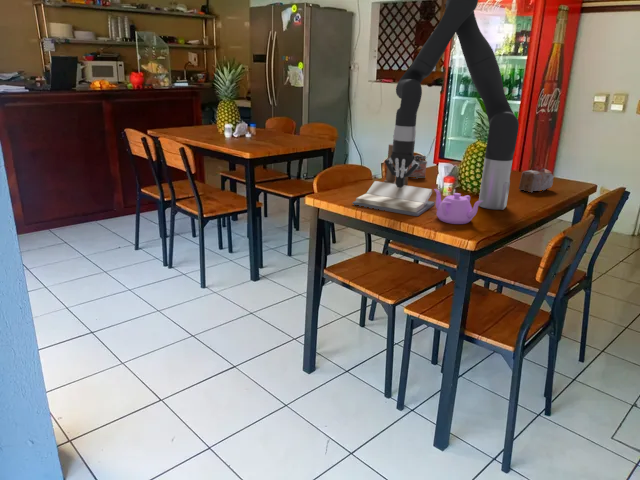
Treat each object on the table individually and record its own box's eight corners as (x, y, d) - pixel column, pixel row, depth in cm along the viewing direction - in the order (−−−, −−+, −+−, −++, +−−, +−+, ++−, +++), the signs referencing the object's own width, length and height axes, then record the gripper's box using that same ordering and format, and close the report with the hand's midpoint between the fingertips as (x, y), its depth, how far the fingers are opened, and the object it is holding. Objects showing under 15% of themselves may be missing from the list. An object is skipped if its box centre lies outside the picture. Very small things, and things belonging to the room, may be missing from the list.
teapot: (431, 213, 168) (434, 188, 165) (473, 216, 167) (476, 190, 164) (435, 224, 157) (438, 196, 154) (480, 226, 156) (484, 199, 153)
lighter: (407, 177, 222) (409, 155, 218) (407, 176, 225) (409, 154, 222) (425, 179, 221) (427, 156, 217) (425, 177, 224) (427, 155, 220)
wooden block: (399, 195, 191) (403, 148, 185) (383, 189, 200) (386, 143, 194) (407, 194, 193) (411, 147, 187) (390, 188, 201) (394, 143, 195)
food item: (535, 186, 213) (539, 163, 210) (553, 190, 207) (557, 167, 204) (516, 190, 206) (520, 166, 202) (533, 194, 199) (538, 170, 196)
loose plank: (432, 192, 177) (432, 189, 176) (424, 206, 172) (424, 202, 171) (375, 184, 187) (374, 180, 186) (366, 196, 182) (366, 193, 182)
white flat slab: (423, 207, 172) (424, 202, 171) (416, 212, 165) (416, 208, 165) (365, 197, 182) (365, 193, 181) (356, 202, 175) (356, 198, 175)
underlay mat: (434, 204, 179) (434, 201, 179) (417, 216, 164) (418, 213, 164) (373, 194, 190) (373, 192, 190) (352, 205, 175) (352, 202, 175)
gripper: (425, 139, 174) (420, 188, 180) (390, 135, 180) (386, 182, 186) (418, 141, 168) (413, 192, 174) (382, 137, 174) (378, 186, 180)
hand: (399, 187), depth 180 cm, fingers closed
